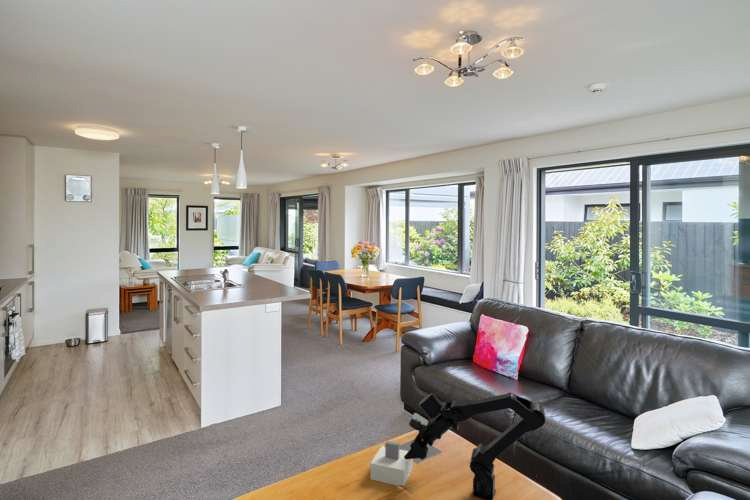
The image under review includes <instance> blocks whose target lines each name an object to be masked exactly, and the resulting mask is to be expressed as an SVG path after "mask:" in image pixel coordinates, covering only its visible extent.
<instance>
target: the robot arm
mask: <svg viewBox="0 0 750 500" xmlns="http://www.w3.org/2000/svg"><path fill="white" fill-rule="evenodd" d="M418 406H419V407H420V408H421V409H422V411H423V412H424V413H425V414H426V415H427V417H428V418H430V419H426V418H425V417H423V416H421V415H420V414H419V413H417V412H414V413H413V414H412V416H411V419H410V420H409V423H408V426H409V427H410V428H412V429H414V430H415V431H418V433H417V435H416V436H415V438H413V439H412V440H413V441H412V440H411V441H412V442H411V444H410V447H411V449H410V450H409V451H408V452H407V454H406V455H405V456H404V458H405V459H415V458H420V459H421V460H423V459H424V458H426V457H427V454H428V449H429V448H428V447H427V444H429V445H430V446H434V443H435V442H436V441H437V440H439V441H440V440H441V439H442V437H443V435H444V434H446V433H447V432H448V431H449V430H450V429H453V430H454V432H458V431H459V427H460V425H459V423H462V422H464V421H467V420H469V419H471V418H473V417H474V416H477V415H481V414H486V413H491V412H496V411H497V412H498V411H502V410H507V409H510V411H514V413H515V414H516V415H518V418H517V419H516V421H515V422H513V423H512V424H511V425H510V426H509V427H507V428H506V430H504V431H503V432H502V433H500V434H499V435H498V436H497V437H496V438H495V439H493V441H491V442H490V443H489V444H487V445H483V444H482V442H480V443H479V444H478V445H477V446H476V447H475V448H473V449H472V452H471V457H470V462H469V469H470V471H471V472H472V473H473V474H474V476H473V479H472V491H473V494H472V495H473V497H475V498H480V499H483V500H494V497H495V494H496V488H495V487H496V475H495V473H494V472H495V464H494V462H495V460H496V459H497V458H498V457H499V456H500V455H501V454H503V453H504V452H505V451H506V450H508V449H509V448H510V447H511V446H512V445H513V444H514V443H516V442H517V441H518V440H519V439H520V438H521V437H523V436H524V435H525V434H527V433H530V432H534V431H537V430H538V429H540V428H542V427H543V426H544V425H545V424H546V413H545V409H544V407H543V406H542V405H541V404H540V403H538V402H533V401H531V400H530V399H528V398H525V397H523V396H519V395H517V394H515V393H513V392H507V393H505V394H500V395H495V396H490V397H485V398H480V399H475V400H473V399H472V400H470V399H467V398H465V399H463V398H462V399H461V398H460V399H454V400H453V401H443V402H442V401H440V399H439V398H438V397H437V395H436V394H435V393H434V392H431V393H430V394H428V395H426V396H425V397H424V398H423V399H421V401H420V402H419V403H418ZM432 418H434V419H432Z"/></svg>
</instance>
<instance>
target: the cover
mask: <svg viewBox="0 0 750 500" xmlns="http://www.w3.org/2000/svg"><path fill="white" fill-rule="evenodd" d="M400 445H401V443H399V442H395V441H390V440H386V441H385V446H384V445H381V446H380V448H379V450H378V451H377V453H376V454H375V456H374V457H373V458H372V460H371V462H370V473H369V474H370V480H372V481H377V482H381V483H385V484H390V485H394V486H402V487H404V486H405V485H406V483H407V480H408V479H409V475H410V473H411V471H412V470H413V468H414V461H413V459H405V458H404V456H405V455H406V454H407V452H408V451H405V450H400Z"/></svg>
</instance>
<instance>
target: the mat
mask: <svg viewBox="0 0 750 500" xmlns="http://www.w3.org/2000/svg"><path fill="white" fill-rule="evenodd" d="M413 440H414V439H412V440H410V441H407V442H405V443H402V444H400V450H405V451H409V450H410V449H411V447H410V444H411V442H412V441H413ZM427 447H428V448H429V449H428V454H427V457H426V458H424V459H423V460H421V459H420V458H415V459H413V463H416V464H419V463H421V462H424V461H426V460H427V459H430V458H432V457H434V456H436V455H439V454H441V453H443V450H442V451H441V450H440V449H439V448H437V447H435V446H434V445H432V446H430V445H429V444H427Z"/></svg>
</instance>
